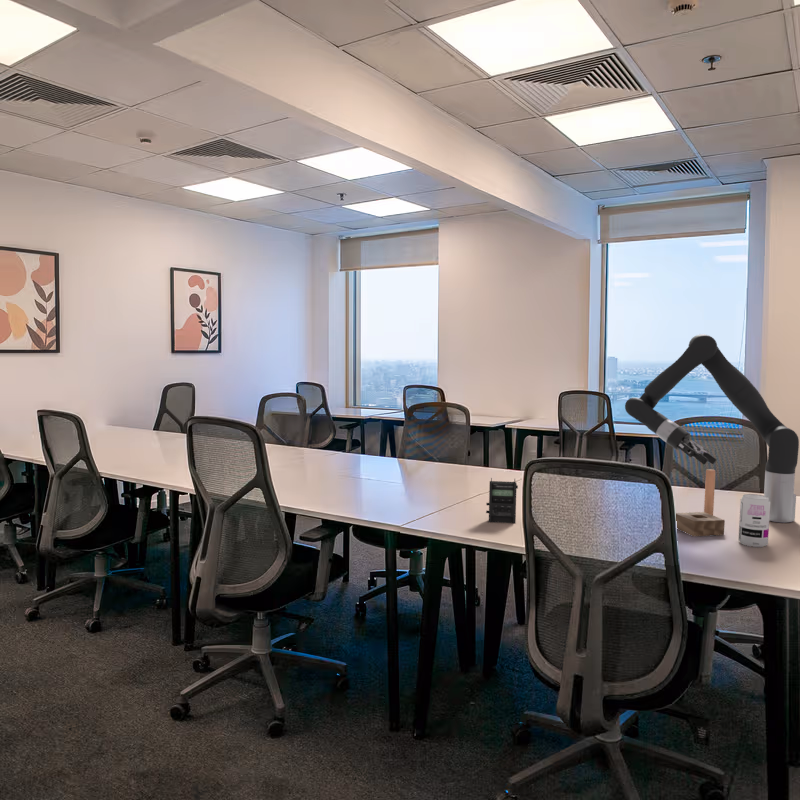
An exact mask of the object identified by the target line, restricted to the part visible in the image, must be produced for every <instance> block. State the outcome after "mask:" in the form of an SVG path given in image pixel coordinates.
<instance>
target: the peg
mask: <svg viewBox="0 0 800 800" xmlns="http://www.w3.org/2000/svg"><path fill="white" fill-rule="evenodd" d="M704 483H705V484H704V485H705V486H704V503H703V512H705V513H708V514H710V515H713V516H714V508H715V488H716V487H715V486H716V470H715V469H705V482H704Z"/></svg>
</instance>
